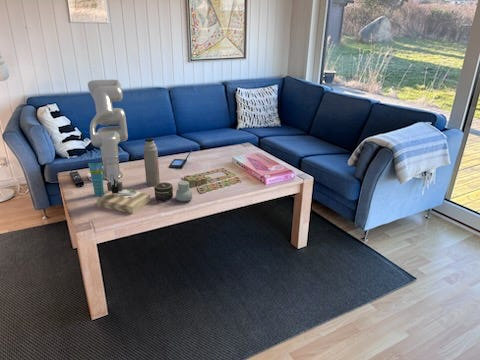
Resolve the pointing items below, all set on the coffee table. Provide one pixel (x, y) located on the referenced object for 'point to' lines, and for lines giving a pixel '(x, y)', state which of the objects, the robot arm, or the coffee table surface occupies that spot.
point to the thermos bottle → (151, 162)
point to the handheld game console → (178, 162)
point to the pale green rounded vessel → (183, 191)
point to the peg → (118, 188)
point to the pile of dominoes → (211, 180)
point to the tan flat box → (124, 201)
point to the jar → (163, 191)
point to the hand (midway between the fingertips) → (115, 191)
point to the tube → (97, 178)
